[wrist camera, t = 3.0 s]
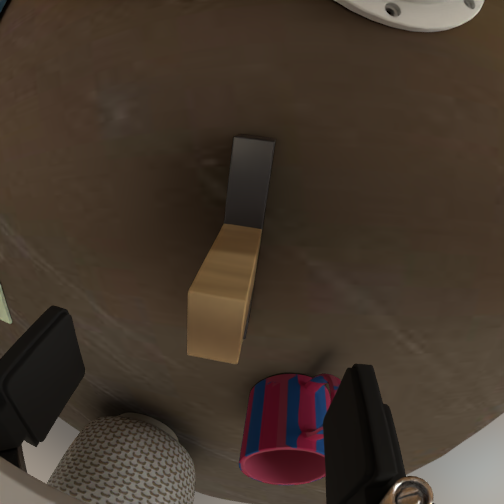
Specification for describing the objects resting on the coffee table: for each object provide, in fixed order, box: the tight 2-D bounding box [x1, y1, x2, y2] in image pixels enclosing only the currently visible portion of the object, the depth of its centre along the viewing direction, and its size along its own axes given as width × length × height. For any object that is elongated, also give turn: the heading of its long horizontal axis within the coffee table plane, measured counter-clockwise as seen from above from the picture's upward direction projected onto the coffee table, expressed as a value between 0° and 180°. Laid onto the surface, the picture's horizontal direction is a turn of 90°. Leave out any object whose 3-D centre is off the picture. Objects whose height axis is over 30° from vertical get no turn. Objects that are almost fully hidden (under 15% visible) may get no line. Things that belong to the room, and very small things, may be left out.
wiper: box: [187, 134, 276, 364], centre depth 15 cm, size 12×2×8 cm, turn 173°
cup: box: [239, 374, 341, 485], centre depth 20 cm, size 7×10×7 cm
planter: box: [47, 413, 195, 504], centre depth 23 cm, size 14×14×13 cm
